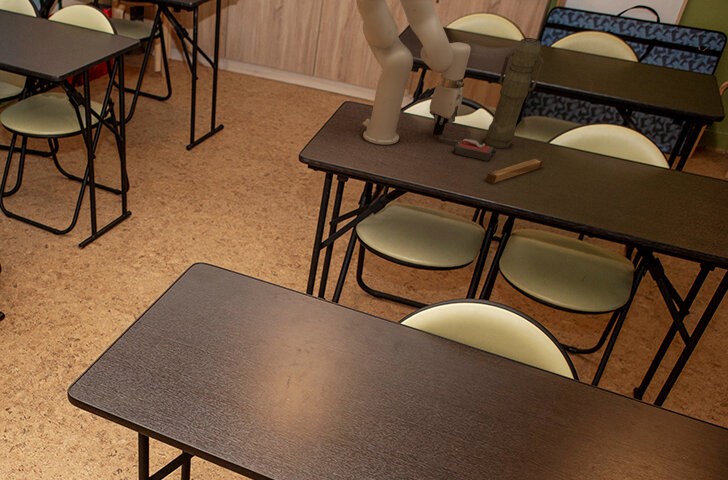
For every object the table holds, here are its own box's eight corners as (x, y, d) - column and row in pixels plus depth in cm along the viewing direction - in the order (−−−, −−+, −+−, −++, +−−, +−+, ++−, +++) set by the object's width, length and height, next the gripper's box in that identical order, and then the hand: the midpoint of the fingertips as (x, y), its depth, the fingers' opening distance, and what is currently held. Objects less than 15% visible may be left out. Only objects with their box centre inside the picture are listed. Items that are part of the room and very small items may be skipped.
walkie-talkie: (496, 153, 239) (439, 140, 246) (500, 141, 236) (442, 128, 244) (490, 162, 233) (432, 149, 241) (495, 150, 230) (435, 136, 238)
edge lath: (485, 180, 222) (487, 173, 221) (533, 165, 232) (536, 157, 231) (492, 183, 221) (494, 176, 219) (540, 167, 231) (543, 160, 229)
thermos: (481, 135, 251) (513, 33, 228) (515, 142, 247) (551, 39, 224) (478, 144, 245) (510, 40, 222) (512, 151, 241) (548, 45, 218)
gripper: (475, 86, 232) (460, 139, 244) (441, 74, 242) (429, 125, 254) (460, 90, 229) (446, 143, 241) (426, 77, 239) (414, 129, 251)
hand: (437, 133), depth 247 cm, fingers closed
